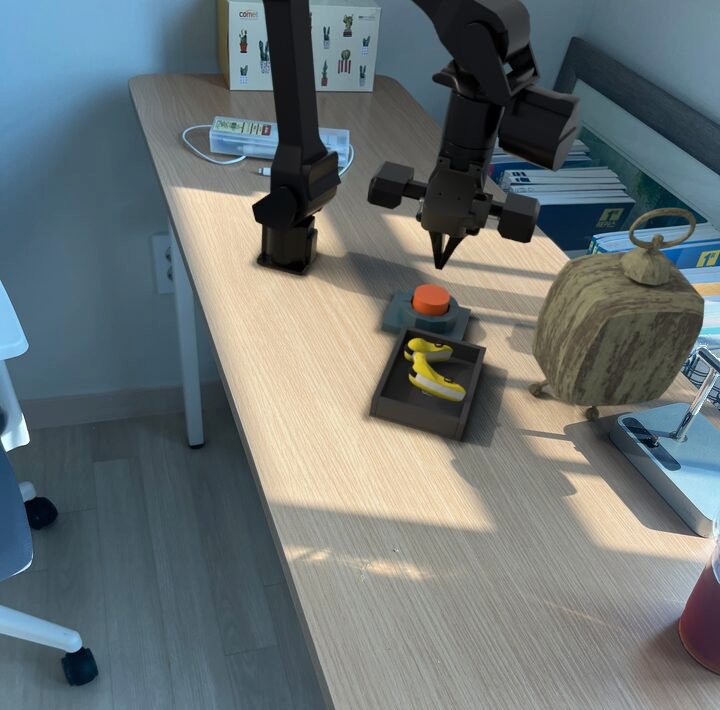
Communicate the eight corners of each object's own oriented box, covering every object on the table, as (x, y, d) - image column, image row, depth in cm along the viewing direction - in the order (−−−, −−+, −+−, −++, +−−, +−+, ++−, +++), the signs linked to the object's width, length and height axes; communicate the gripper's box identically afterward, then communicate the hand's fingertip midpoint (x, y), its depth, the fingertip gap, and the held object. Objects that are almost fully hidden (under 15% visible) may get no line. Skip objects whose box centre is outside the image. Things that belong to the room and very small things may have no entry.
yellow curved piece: (395, 352, 90) (406, 327, 88) (443, 368, 92) (455, 343, 90) (403, 396, 82) (416, 369, 80) (456, 412, 84) (469, 386, 82)
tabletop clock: (621, 379, 94) (716, 187, 75) (654, 430, 88) (766, 236, 69) (513, 384, 90) (585, 185, 72) (540, 438, 84) (626, 236, 66)
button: (408, 311, 93) (411, 299, 92) (416, 292, 96) (419, 280, 95) (443, 320, 93) (446, 308, 92) (450, 301, 96) (453, 289, 95)
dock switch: (380, 330, 94) (384, 310, 92) (395, 296, 100) (399, 277, 97) (457, 351, 93) (463, 332, 91) (469, 316, 99) (474, 297, 96)
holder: (368, 416, 83) (371, 397, 81) (399, 342, 93) (403, 324, 91) (459, 442, 82) (465, 424, 80) (481, 365, 92) (486, 347, 90)
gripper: (362, 146, 75) (345, 282, 86) (547, 192, 73) (505, 325, 84) (390, 106, 82) (371, 236, 93) (558, 147, 80) (518, 274, 92)
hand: (439, 268), depth 90 cm, fingers closed
